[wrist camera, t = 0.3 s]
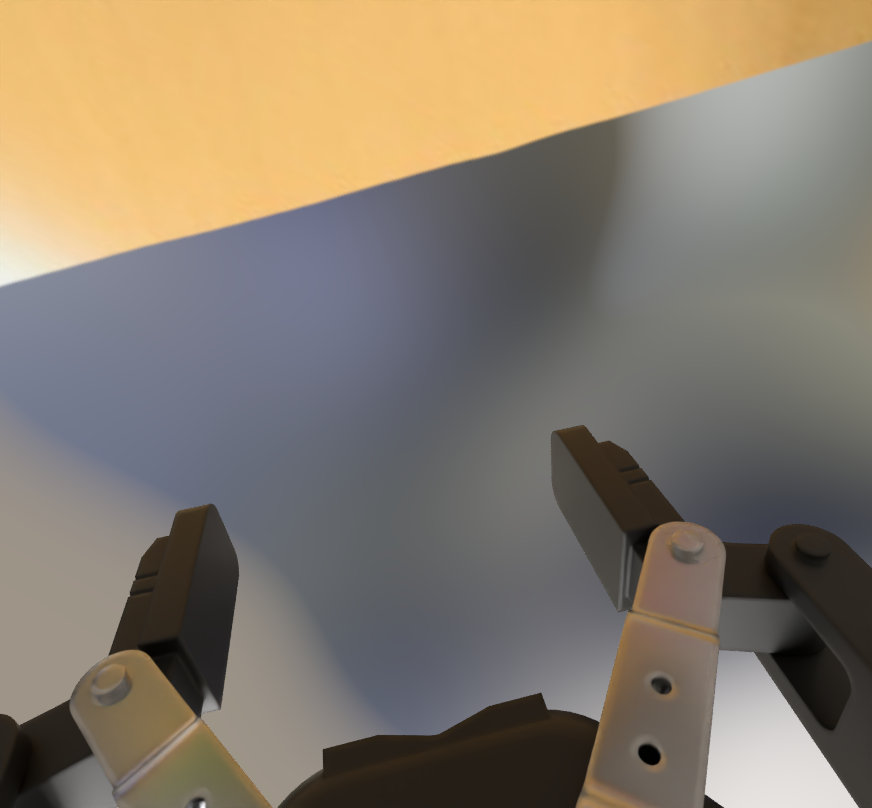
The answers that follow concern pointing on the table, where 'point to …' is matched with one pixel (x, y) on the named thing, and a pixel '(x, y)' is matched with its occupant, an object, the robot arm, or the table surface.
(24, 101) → the table surface
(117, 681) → the robot arm
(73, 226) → the table surface
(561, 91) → the table surface
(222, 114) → the table surface
